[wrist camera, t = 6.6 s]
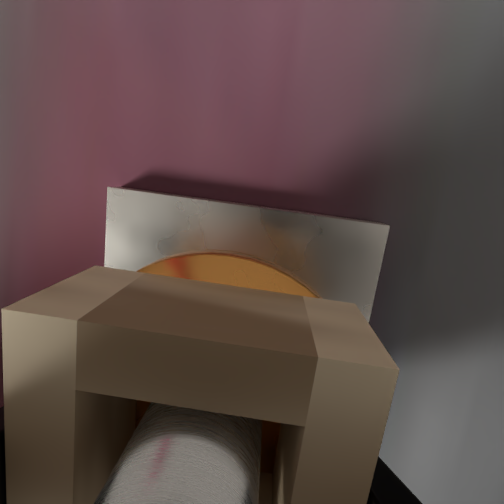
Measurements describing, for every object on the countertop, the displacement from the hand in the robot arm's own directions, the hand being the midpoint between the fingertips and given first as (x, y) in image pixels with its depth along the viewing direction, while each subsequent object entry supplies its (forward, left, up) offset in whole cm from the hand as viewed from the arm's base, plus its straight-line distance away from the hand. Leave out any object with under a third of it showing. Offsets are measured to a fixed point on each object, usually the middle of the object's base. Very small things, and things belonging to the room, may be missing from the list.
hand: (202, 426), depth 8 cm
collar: (0, 0, -1) cm, 1 cm away
